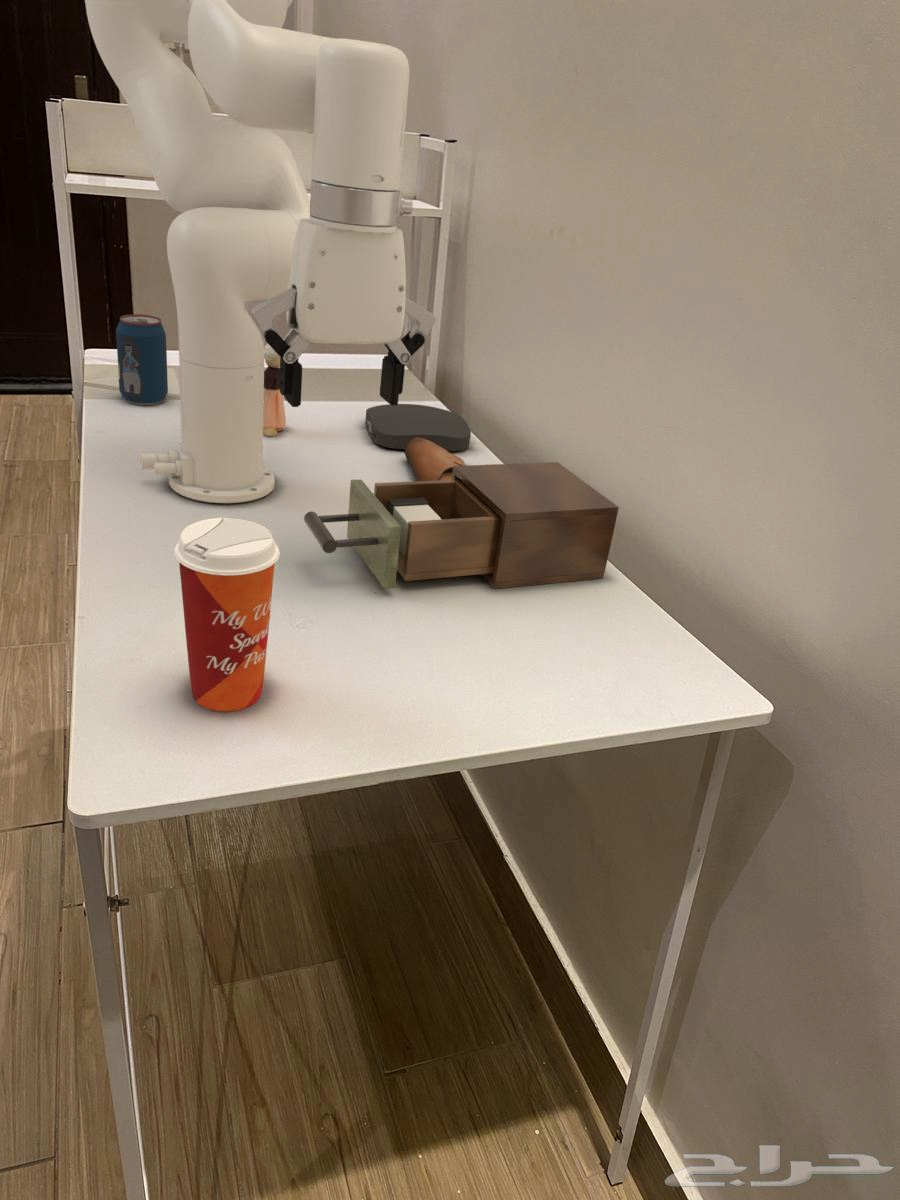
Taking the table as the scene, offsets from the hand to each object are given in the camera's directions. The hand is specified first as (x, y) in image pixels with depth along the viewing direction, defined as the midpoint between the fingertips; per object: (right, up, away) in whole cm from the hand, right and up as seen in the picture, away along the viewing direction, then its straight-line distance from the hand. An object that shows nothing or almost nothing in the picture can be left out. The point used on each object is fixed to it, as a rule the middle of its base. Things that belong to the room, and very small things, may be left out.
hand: (341, 401), depth 86 cm
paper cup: (-8, -27, -12) cm, 30 cm away
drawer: (+4, -14, +11) cm, 19 cm away
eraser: (+7, -13, +11) cm, 19 cm away
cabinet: (+19, -14, +17) cm, 29 cm away
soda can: (-36, +11, +51) cm, 64 cm away
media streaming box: (+5, +6, +51) cm, 52 cm away
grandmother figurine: (-15, +6, +46) cm, 49 cm away
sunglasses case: (+10, -4, +34) cm, 36 cm away
